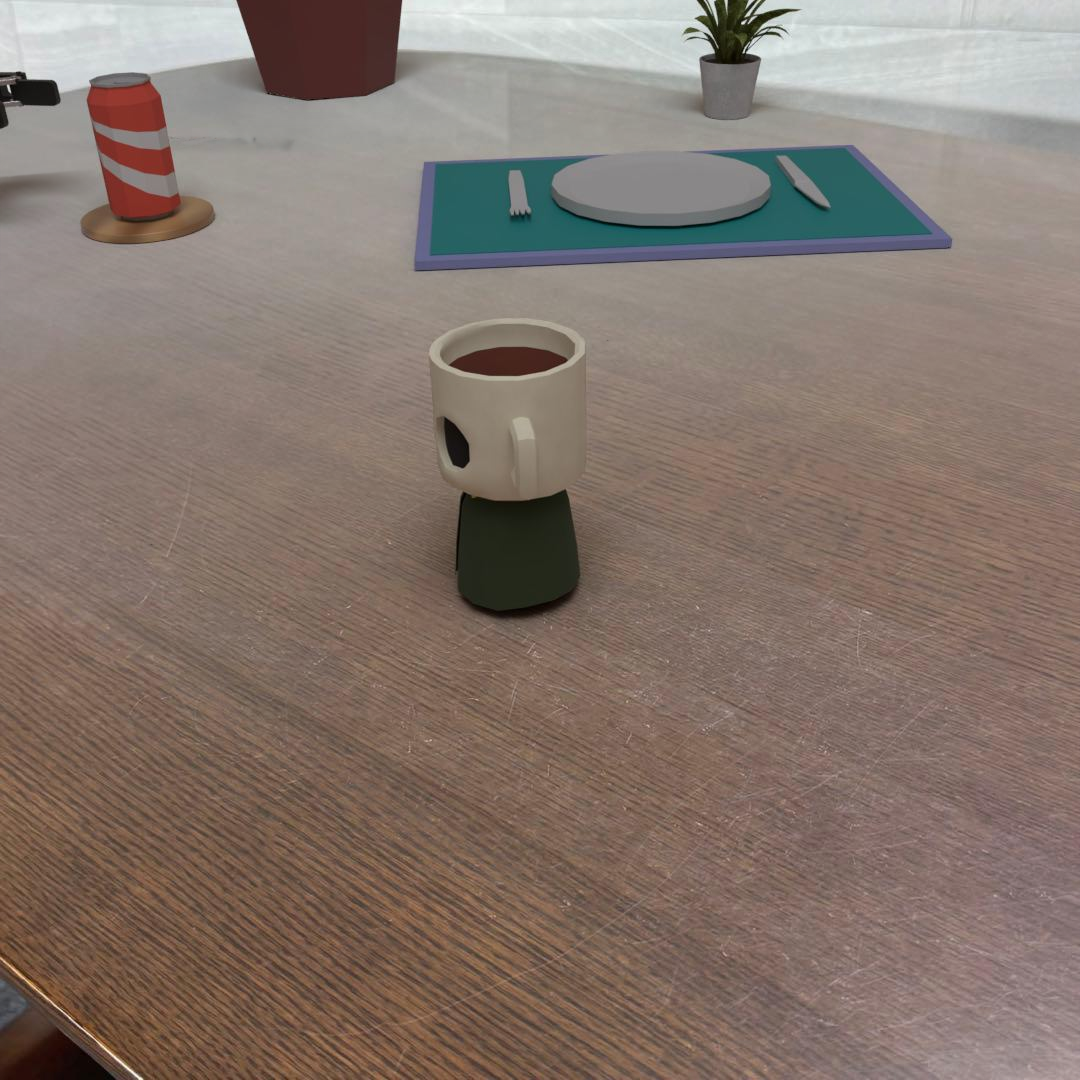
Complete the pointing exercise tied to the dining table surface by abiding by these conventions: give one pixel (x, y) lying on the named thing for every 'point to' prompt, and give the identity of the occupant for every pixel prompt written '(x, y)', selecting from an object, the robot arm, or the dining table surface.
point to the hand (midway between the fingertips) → (31, 103)
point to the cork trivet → (148, 223)
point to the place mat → (663, 208)
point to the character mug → (511, 454)
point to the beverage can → (133, 146)
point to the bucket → (323, 45)
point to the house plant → (731, 56)
